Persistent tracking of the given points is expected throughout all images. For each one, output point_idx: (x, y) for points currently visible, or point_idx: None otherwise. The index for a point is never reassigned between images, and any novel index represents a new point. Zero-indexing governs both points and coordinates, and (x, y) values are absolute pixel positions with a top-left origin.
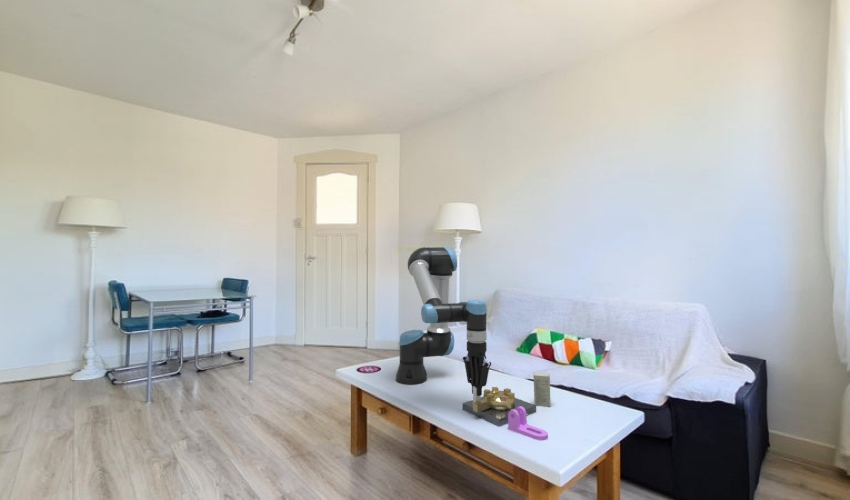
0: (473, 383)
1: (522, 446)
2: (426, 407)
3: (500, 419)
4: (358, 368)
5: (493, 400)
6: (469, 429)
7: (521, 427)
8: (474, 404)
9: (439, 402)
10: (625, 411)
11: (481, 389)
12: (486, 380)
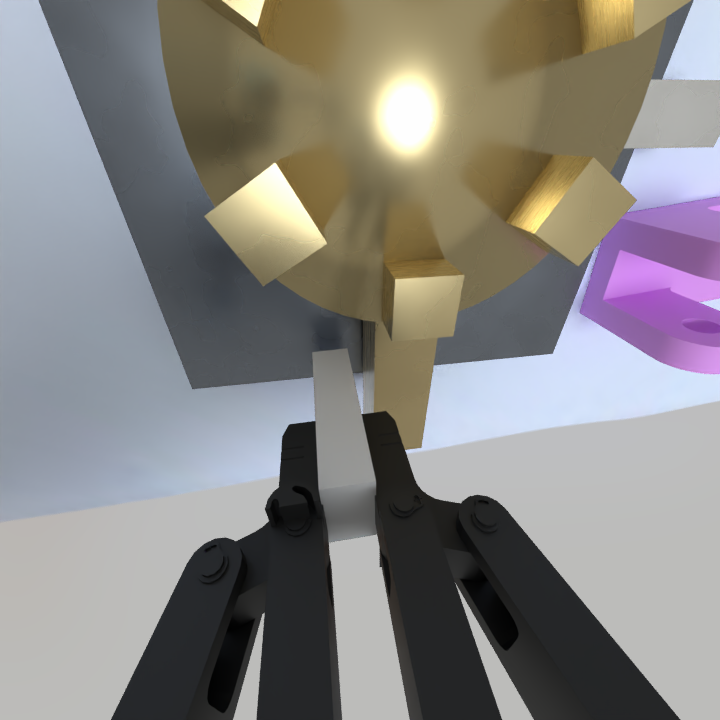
0: (331, 577)
1: (679, 373)
2: (88, 492)
3: (553, 341)
4: None
5: (468, 303)
6: (433, 447)
7: (674, 278)
8: None
9: (2, 414)
10: None
11: (409, 467)
12: (569, 597)
